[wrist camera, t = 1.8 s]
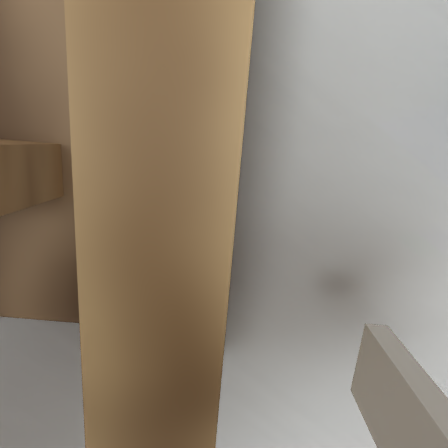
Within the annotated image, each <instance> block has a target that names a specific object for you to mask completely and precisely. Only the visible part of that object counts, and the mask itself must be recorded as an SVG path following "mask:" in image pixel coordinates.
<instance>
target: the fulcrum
mask: <svg viewBox="0 0 448 448" xmlns="http://www.w3.org/2000/svg"><path fill="white" fill-rule="evenodd" d="M0 317H13V318H25V319H37V320H49V321H61V322H73V323H79V303H78V282H77V261H76V240H75V219H74V198H73V177H72V156H71V135H70V114H69V93H68V72H67V51H66V30H65V9H64V0H0Z"/></svg>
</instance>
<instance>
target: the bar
mask: <svg viewBox="0 0 448 448" xmlns="http://www.w3.org/2000/svg"><path fill="white" fill-rule="evenodd" d="M254 8H255V0H64V9H65V30H66V51H67V72H68V93H69V114H70V135H71V156H72V177H73V198H74V219H75V240H76V261H77V282H78V303H79V324H80V344H81V365H82V386H83V407H84V428H85V448H215V444H216V433H217V422H218V411H219V399H220V388H221V377H222V366H223V355H224V344H225V332H226V321H227V310H228V299H229V288H230V277H231V265H232V254H233V243H234V232H235V221H236V209H237V198H238V187H239V176H240V165H241V154H242V142H243V131H244V120H245V109H246V98H247V87H248V75H249V64H250V53H251V42H252V31H253V20H254Z"/></svg>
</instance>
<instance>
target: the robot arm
mask: <svg viewBox="0 0 448 448" xmlns="http://www.w3.org/2000/svg"><path fill="white" fill-rule="evenodd" d="M351 392H352V394H353V396H354V398H355V401H356V403H357V405H358V407H359V409H360V411H361V414H362V416H363V418H364V420H365V422H366V424H367V427H368V429H369V431H370V433H371V435H372V437H373V440H374V442H375V444H376V446H377V448H448V398H447V397H446V396H445V395H444V393H443V392H442V391H441V390H440V389H439V387H438V386H437V385H436V384H435V383H434V381H433V380H432V379H431V378H430V376H429V375H428V374H427V373H426V372H425V370H424V369H423V368H422V367H421V366H420V364H419V363H418V362H417V361H416V359H415V358H414V357H413V356H412V355H411V353H410V352H409V351H408V350H407V349H406V347H405V346H404V345H403V344H402V343H401V341H400V340H399V339H398V338H397V336H396V335H395V334H394V333H393V332H392V330H391V329H390V328H389V327H388V326H386V325H375V324H365V327H364V331H363V336H362V340H361V345H360V350H359V354H358V359H357V363H356V368H355V372H354V377H353V381H352V386H351Z"/></svg>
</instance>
